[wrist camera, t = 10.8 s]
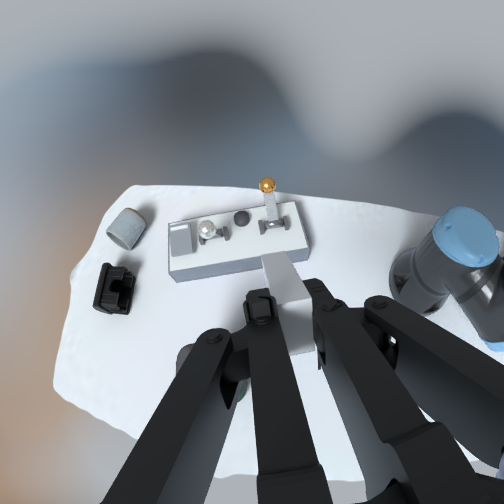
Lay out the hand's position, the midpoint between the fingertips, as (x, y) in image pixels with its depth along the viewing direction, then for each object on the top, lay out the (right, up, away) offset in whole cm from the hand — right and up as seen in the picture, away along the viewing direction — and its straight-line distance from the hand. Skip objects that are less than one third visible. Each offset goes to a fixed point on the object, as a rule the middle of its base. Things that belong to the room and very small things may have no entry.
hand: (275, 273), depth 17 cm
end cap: (-31, -9, +40) cm, 51 cm away
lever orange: (+3, +7, +37) cm, 37 cm away
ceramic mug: (-32, +5, +47) cm, 57 cm away
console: (-5, +2, +42) cm, 43 cm away
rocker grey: (-16, +4, +36) cm, 40 cm away
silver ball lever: (-9, +5, +37) cm, 38 cm away
